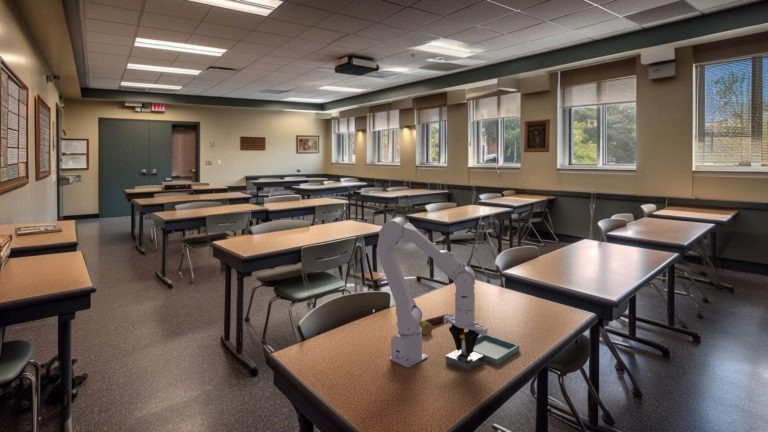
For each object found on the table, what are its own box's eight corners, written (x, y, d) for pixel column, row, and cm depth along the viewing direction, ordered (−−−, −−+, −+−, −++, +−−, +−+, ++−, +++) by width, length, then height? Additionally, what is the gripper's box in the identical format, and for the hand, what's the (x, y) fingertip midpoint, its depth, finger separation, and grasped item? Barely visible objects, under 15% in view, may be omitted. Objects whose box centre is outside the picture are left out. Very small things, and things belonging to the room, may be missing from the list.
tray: (496, 365, 123) (496, 359, 122) (460, 351, 132) (460, 345, 132) (519, 351, 131) (519, 345, 131) (483, 338, 141) (483, 333, 141)
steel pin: (465, 365, 122) (465, 337, 121) (456, 362, 125) (456, 334, 123) (472, 362, 124) (472, 334, 123) (463, 358, 127) (463, 330, 126)
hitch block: (467, 372, 119) (467, 364, 119) (445, 363, 125) (445, 355, 124) (483, 363, 124) (483, 355, 124) (461, 354, 130) (461, 346, 130)
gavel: (443, 307, 165) (463, 313, 157) (443, 318, 165) (462, 325, 157) (404, 316, 151) (423, 324, 144) (404, 328, 152) (423, 337, 144)
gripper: (493, 310, 120) (493, 354, 121) (453, 298, 130) (453, 339, 132) (479, 316, 115) (479, 362, 117) (439, 304, 125) (439, 346, 127)
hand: (464, 351), depth 124 cm, fingers closed on steel pin, 3 cm apart
